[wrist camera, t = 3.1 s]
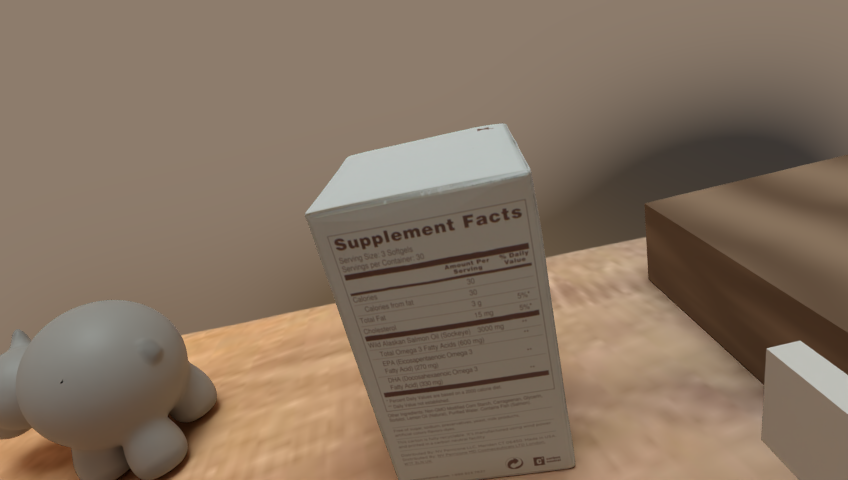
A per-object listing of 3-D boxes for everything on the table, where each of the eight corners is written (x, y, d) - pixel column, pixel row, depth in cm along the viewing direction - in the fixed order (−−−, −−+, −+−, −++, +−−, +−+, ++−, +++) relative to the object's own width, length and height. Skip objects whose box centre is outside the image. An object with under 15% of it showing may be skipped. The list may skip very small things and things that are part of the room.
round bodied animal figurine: (72, 410, 31) (-2, 297, 28) (241, 390, 29) (182, 265, 26) (-34, 514, 25) (-148, 383, 22) (173, 498, 23) (82, 349, 19)
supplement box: (411, 375, 27) (345, 153, 22) (548, 356, 26) (510, 117, 21) (395, 494, 20) (295, 211, 15) (580, 475, 19) (536, 163, 14)
